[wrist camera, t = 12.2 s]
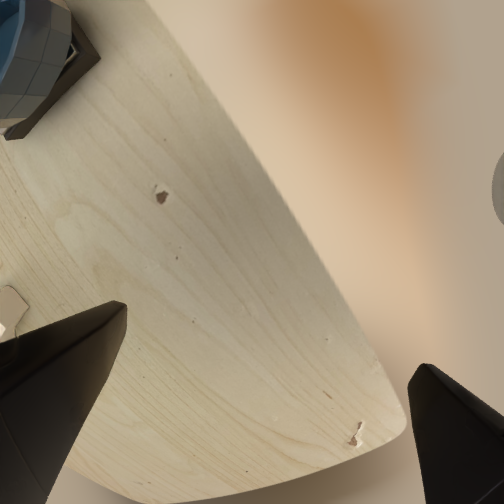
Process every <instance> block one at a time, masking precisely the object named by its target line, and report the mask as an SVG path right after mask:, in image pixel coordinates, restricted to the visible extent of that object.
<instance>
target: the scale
mask: <svg viewBox="0 0 504 504" xmlns="http://www.w3.org/2000/svg"><path fill="white" fill-rule="evenodd" d="M71 31H72V39H71V42H70V46H69V49H68V53H67V57H66V61H65V65H64V67H63V69H62V71H61V73H60V75H59V77H58V78H57V80H56V82H55V84H54V86H53V88H52V90H51V92H50V93H49V95H48V97H47V98H46V99H45V100H44V101H43V102H42V103H41V104H40V105H39V106H38V107H37V109H36V110H35V111H34V112H33V113H32V114H31V115H30V116H29V117H28V118H26V119H25V120H23V121H21V122H19V123H17V124H15V125H13V126H11V127H9V128H0V134H1V135H4V137H5V139H6V141H8V140H15V139H23V138H24V137H25V136H26V135H27V133H28V132H29V131H30V130H31V129H32V127H33V126H34V125H35V124H36V123H37V122H38V121H39V119H40V118H41V117H42V116H43V115H44V114H45V113H46V112H47V111H48V109H49V108H50V107H51V106H52V105H53V104H54V103H55V102H56V101H57V100H58V99H59V98H60V97H61V96H62V95H63V94H64V93H65V92H66V91H67V90H68V89H69V88H70V87H71V86H72V85H73V84H74V83H75V82H76V81H77V80H78V79H79V78H80V77H81V76H82V75H83V74H84V73H86V72H87V71H88V70H89V69H90V68H91V67H92V66H93V65H94V64H96V63H97V62H98V61H99V60H100V57H99V55H98V54H97V52H96V51H95V49H94V48H93V46H92V44H91V43H90V41H89V40H88V38H87V37H86V35H85V34H84V32H83V31H82V29H81V28H80V26H79V25H78V23H77V21H76V20H75V18H74V17H73V15H72V14H71Z"/></svg>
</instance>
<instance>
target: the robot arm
mask: <svg viewBox="0 0 504 504" xmlns="http://www.w3.org/2000/svg"><path fill="white" fill-rule="evenodd" d="M126 329H127V305H126V304H125V303H121V302H118V301H114V300H113V301H110V302H107V303H105V304H102V305H99V306H97V307H94V308H91V309H89V310H86V311H83V312H81V313H78V314H75V315H73V316H70V317H68V318H65V319H62V320H60V321H57V322H54V323H52V324H49V325H46V326H44V327H41V328H38V329H36V330H33V331H31V332H28V333H25V334H23V335H20V336H18V337H15V338H12V339H9V340H7V341H4V342H1V343H0V504H45V503H46V501H47V498H48V497H47V496H49V494H50V492H51V490H52V487H53V485H54V483H55V481H56V479H57V477H58V474H59V472H60V470H61V468H62V466H63V464H64V462H65V460H66V458H67V456H68V454H69V452H70V450H71V448H72V446H73V444H74V442H75V440H76V438H77V436H78V434H79V432H80V430H81V428H82V426H83V424H84V422H85V420H86V418H87V416H88V414H89V412H90V410H91V409H92V407H93V405H94V403H95V401H96V399H97V397H98V395H99V394H100V392H101V390H102V388H103V386H104V384H105V382H106V380H107V378H108V376H109V374H110V371H111V369H112V366H113V364H114V361H115V359H116V356H117V354H118V351H119V349H120V347H121V344H122V342H123V339H124V337H125V334H126ZM408 396H409V403H410V412H411V420H412V428H413V433H414V438H415V443H416V448H417V453H418V458H419V463H420V469H421V475H422V481H423V487H424V494H425V500H426V504H504V416H502V415H501V414H500V413H498V412H497V411H496V410H494V409H492V408H491V407H490V406H489V405H487V404H486V403H485V402H483V401H482V400H480V399H479V398H478V397H477V396H475V395H474V394H472V393H471V392H470V391H468V390H467V389H466V388H464V387H463V386H462V385H460V384H459V383H457V382H456V381H455V380H453V379H452V378H451V377H449V376H448V375H447V374H445V373H444V372H442V371H441V370H440V369H438V368H437V367H436V366H434V365H432V364H425V363H423V364H421V365H420V366H419V367H418V368H417V370H416V371H415V373H414V375H413V376H412V378H411V379H410V381H409V383H408Z"/></svg>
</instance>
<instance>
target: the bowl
mask: <svg viewBox="0 0 504 504" xmlns="http://www.w3.org/2000/svg"><path fill="white" fill-rule="evenodd" d="M71 39H72V31H71V11H70V10H69V8H68V6H67V5H66V3H65V1H64V0H0V128H9V127H11V126H13V125H15V124H17V123H19V122H21V121H23V120H25V119H26V118H28V117H29V116H30V115H31V114H32V113H33V112H34V111H35V110H36V109H37V107H38V106H39V105H40V104H41V103H42V102H43V101H44V100H45V99H46V98H47V97H48V95H49V93H50V92H51V90H52V88H53V86H54V84H55V82H56V80H57V78H58V77H59V75H60V73H61V71H62V69H63V67H64V65H65V61H66V57H67V53H68V49H69V46H70V42H71Z"/></svg>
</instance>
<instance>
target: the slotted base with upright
mask: <svg viewBox="0 0 504 504" xmlns="http://www.w3.org/2000/svg"><path fill="white" fill-rule="evenodd" d="M28 308H29V306H28V305H27V304H26V303H25V301H24V300H23V299H22V298H21V297H20V296H19V294H18V293H17V292H16V291H15V290H14V289H13V288H12V287H10V286H5V287H3V288H2V289H1V290H0V343H1V342H4V341H7V340H9V339H12V338H15V337H16V336H15V327H16V325H17V324H18V322H19V321H20V319H21V318H22V316H23V315H24V313H25V312H26V310H27V309H28Z"/></svg>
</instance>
